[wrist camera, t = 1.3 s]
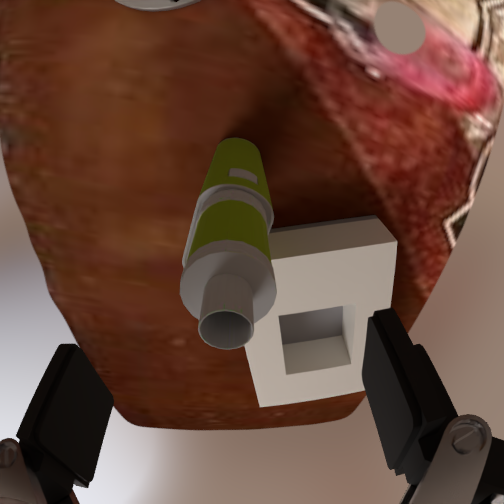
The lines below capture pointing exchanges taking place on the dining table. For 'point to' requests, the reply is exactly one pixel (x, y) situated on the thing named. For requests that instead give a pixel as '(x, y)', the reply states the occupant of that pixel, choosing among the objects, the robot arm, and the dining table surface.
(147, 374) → the dining table surface
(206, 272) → the vape
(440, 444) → the robot arm
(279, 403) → the charging dock
